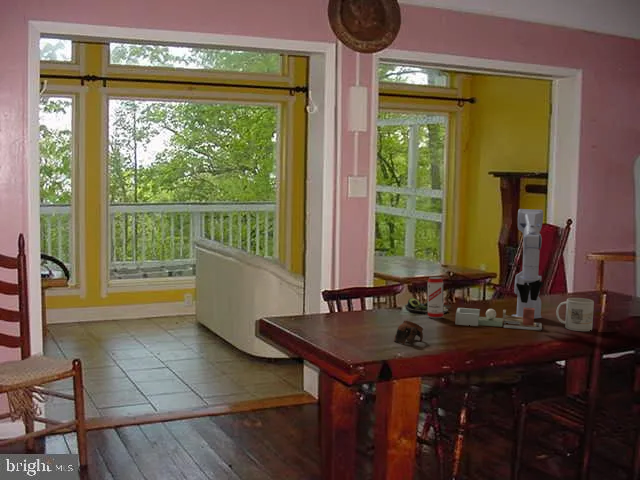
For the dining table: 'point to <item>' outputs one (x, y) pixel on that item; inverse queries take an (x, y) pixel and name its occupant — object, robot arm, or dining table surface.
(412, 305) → the salad plate
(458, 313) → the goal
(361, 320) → the dining table surface
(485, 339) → the dining table surface
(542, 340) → the dining table surface
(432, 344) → the dining table surface
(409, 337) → the brown animal figurine
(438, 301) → the beer can
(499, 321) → the track
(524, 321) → the carriage
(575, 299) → the mug
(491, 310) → the ball
